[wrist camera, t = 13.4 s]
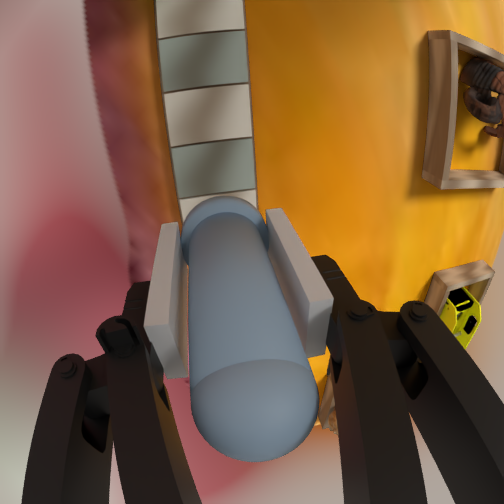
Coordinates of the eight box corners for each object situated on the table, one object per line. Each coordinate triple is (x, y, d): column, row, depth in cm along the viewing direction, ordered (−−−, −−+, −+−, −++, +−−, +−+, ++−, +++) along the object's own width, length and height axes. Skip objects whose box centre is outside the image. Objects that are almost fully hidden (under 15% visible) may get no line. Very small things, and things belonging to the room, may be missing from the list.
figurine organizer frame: (400, 351, 47) (408, 365, 44) (377, 397, 57) (383, 410, 54) (329, 371, 46) (335, 388, 43) (318, 415, 55) (322, 429, 52)
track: (241, -14, 17) (243, -19, 16) (257, 227, 30) (260, 234, 28) (155, -5, 17) (152, -10, 15) (186, 237, 29) (185, 245, 28)
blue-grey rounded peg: (263, 190, 14) (370, 398, 5) (267, 263, 16) (335, 461, 7) (174, 202, 14) (152, 436, 5) (189, 274, 16) (198, 485, 7)
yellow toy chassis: (430, 342, 49) (451, 374, 42) (407, 351, 48) (427, 385, 41) (457, 277, 40) (487, 310, 33) (433, 284, 40) (463, 321, 33)
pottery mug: (485, 46, 21) (539, 81, 17) (473, 101, 29) (518, 135, 25) (447, 62, 20) (517, 107, 16) (434, 130, 28) (489, 173, 24)
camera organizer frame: (482, 259, 39) (495, 271, 36) (443, 347, 51) (451, 359, 48) (434, 272, 38) (447, 286, 35) (397, 364, 50) (405, 378, 47)
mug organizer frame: (511, 65, 22) (530, 70, 19) (500, 177, 31) (517, 187, 28) (428, 30, 20) (450, 30, 17) (421, 177, 29) (440, 189, 27)
